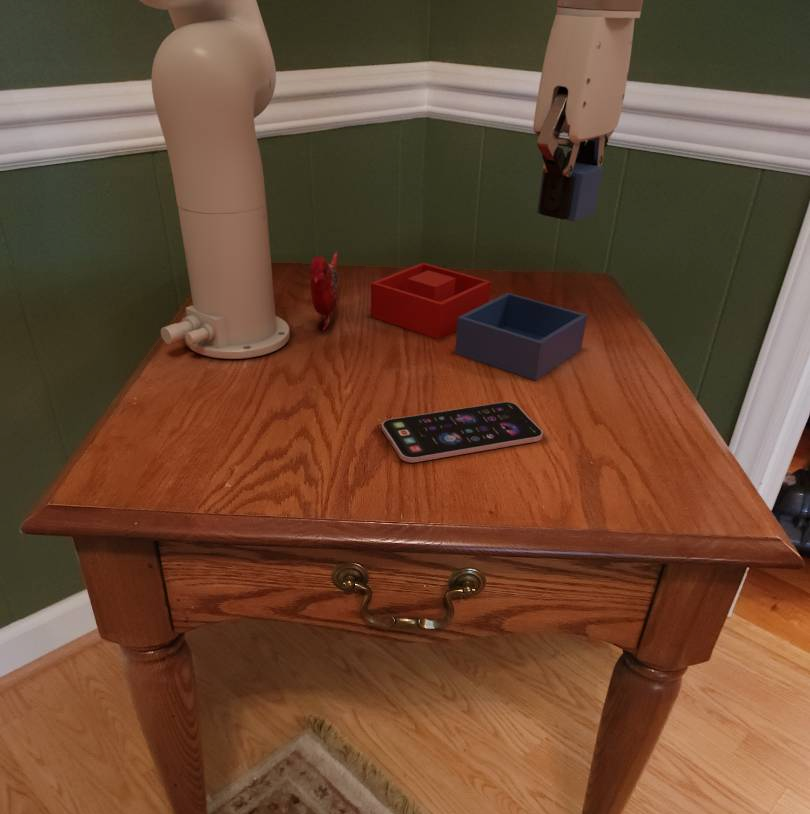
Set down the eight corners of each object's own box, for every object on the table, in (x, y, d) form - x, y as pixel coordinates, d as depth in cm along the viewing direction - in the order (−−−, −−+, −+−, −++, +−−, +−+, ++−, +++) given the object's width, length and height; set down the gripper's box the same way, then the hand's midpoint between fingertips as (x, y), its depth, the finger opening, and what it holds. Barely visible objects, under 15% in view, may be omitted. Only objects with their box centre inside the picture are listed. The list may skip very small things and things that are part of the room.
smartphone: (378, 420, 73) (512, 400, 77) (378, 425, 73) (512, 405, 77) (404, 459, 67) (547, 435, 72) (404, 464, 68) (546, 440, 72)
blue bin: (535, 381, 83) (541, 343, 80) (454, 353, 88) (457, 317, 85) (581, 350, 90) (587, 314, 87) (503, 326, 95) (507, 292, 92)
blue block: (574, 221, 74) (583, 173, 72) (536, 213, 76) (543, 166, 74) (594, 213, 77) (603, 167, 74) (557, 205, 79) (564, 159, 76)
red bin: (439, 339, 91) (441, 304, 88) (370, 316, 96) (370, 282, 93) (487, 314, 98) (491, 281, 95) (421, 294, 103) (422, 262, 100)
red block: (433, 321, 94) (435, 286, 91) (406, 312, 96) (407, 278, 94) (453, 311, 97) (455, 277, 94) (426, 303, 99) (428, 270, 96)
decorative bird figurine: (306, 346, 88) (301, 262, 82) (327, 295, 102) (325, 219, 96) (330, 348, 88) (327, 264, 82) (348, 296, 102) (346, 220, 96)
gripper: (604, -6, 72) (572, 191, 84) (516, -7, 62) (492, 220, 73) (676, -2, 69) (632, 204, 80) (595, -2, 58) (558, 236, 70)
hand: (566, 209), depth 77 cm, fingers closed on blue block, 4 cm apart
